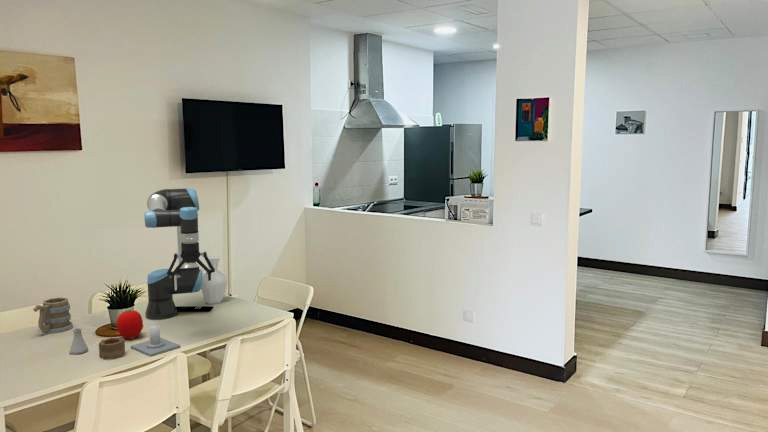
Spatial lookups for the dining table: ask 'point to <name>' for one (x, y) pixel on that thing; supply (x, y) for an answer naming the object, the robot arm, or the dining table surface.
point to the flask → (78, 343)
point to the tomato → (129, 324)
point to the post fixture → (155, 343)
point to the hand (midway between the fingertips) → (191, 288)
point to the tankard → (54, 315)
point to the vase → (214, 284)
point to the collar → (111, 348)
